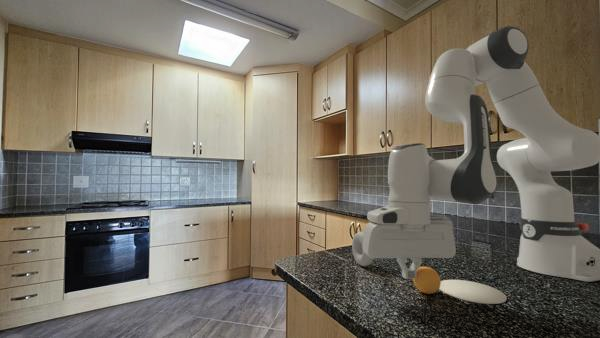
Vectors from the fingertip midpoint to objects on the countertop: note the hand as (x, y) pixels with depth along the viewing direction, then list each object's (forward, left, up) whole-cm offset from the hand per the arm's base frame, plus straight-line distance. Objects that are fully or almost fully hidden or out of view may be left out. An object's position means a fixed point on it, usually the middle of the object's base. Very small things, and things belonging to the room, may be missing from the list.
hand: (409, 277), depth 57 cm
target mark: (-15, 0, -3) cm, 15 cm away
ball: (-4, 0, -1) cm, 4 cm away
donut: (+3, -20, -4) cm, 21 cm away
